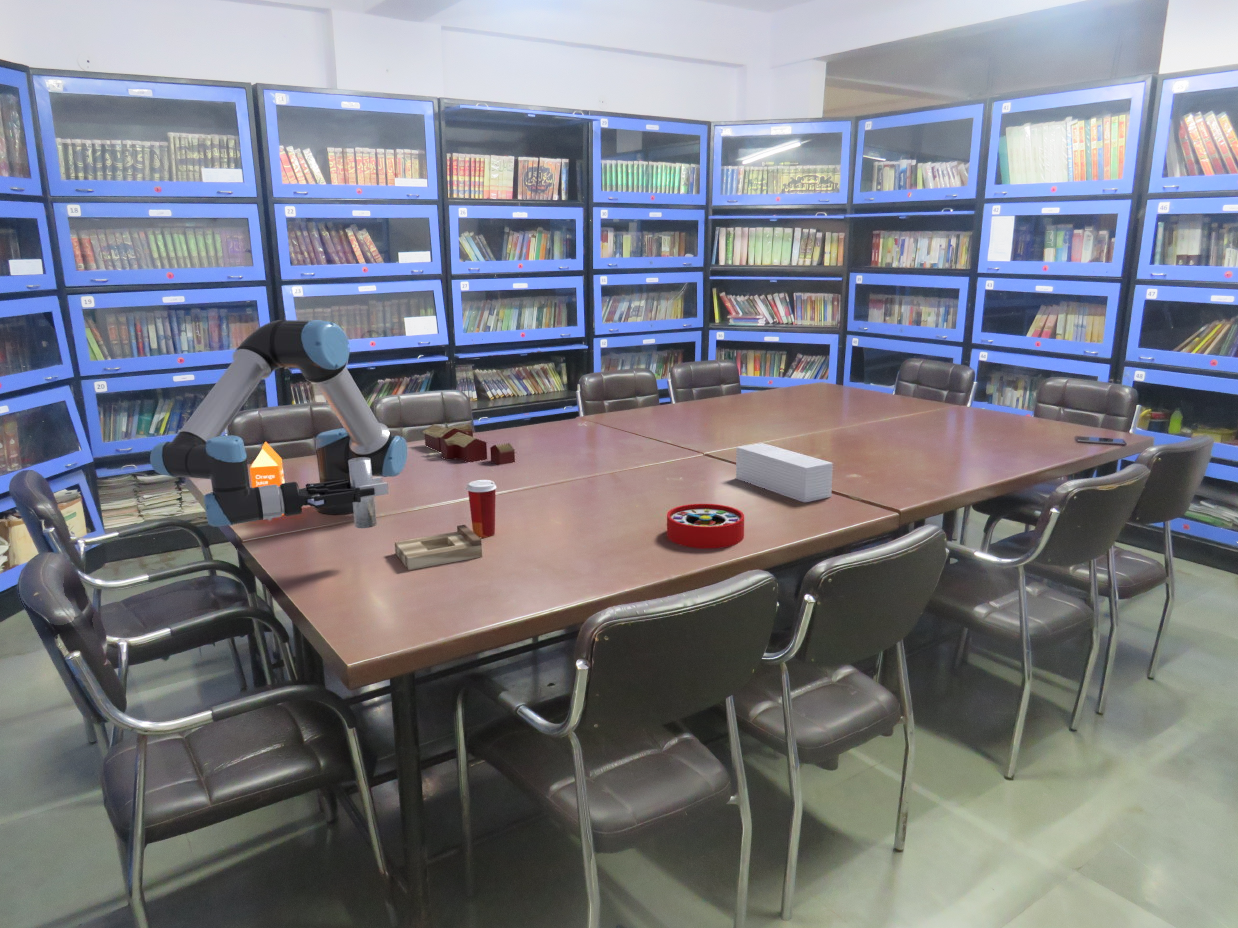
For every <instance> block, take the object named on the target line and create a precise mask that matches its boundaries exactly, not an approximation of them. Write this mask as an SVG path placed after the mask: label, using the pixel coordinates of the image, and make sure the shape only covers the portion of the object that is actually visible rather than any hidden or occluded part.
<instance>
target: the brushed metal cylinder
mask: <svg viewBox="0 0 1238 928" xmlns="http://www.w3.org/2000/svg"><path fill="white" fill-rule="evenodd" d="M348 463H349V473H350V483H351V488H359V486H365V485H372V484H373V479H372V478H373V476H372V469H371V459H370V458H367V457H359V458H353V459H350V460H348ZM353 520H354V527H355V528H357V529H370V528H373V527H376V526H377V524H378V523H377V512H376V502H375V496H372V497H366V498H361V502H359V503H358V502H353Z"/></svg>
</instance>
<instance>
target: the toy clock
mask: <svg viewBox="0 0 1238 928" xmlns="http://www.w3.org/2000/svg"><path fill="white" fill-rule="evenodd" d="M666 538H667V539H668V540H669V541H670V542H672V543H674V544H676V545H680V546H682V547H688V548H694V549H721V548H726V547H727V548H728V547H731V546H735V545H738V544H739V543H741V542H742V541H743V540H744V538H745V514H744V513H743V511H741V510H739V509H737V508H735V507H733V506H728V505H724V504H716V503H691V504H683V505H680V506H675V507H673V508H671V509H670V510H668V511H667V514H666Z"/></svg>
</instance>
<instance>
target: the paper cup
mask: <svg viewBox="0 0 1238 928" xmlns="http://www.w3.org/2000/svg"><path fill="white" fill-rule="evenodd" d="M496 489H497V485H496V483H495V482H494V480H489V479H479V480H473V481H470V482H469V483H468V484H467V486H466V490H467V492H468V501H469V509H470V517H471V523H472V524H471V525H472V532H474V533H475V534H476V535H477V536H478V537H479V538H480V539H482V538H490V537H493V536H494V535H495V533H496V532H495V531H496Z"/></svg>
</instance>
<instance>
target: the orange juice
mask: <svg viewBox="0 0 1238 928" xmlns="http://www.w3.org/2000/svg"><path fill="white" fill-rule="evenodd" d="M249 473H250V480H251V481H250V482H251V488H254V487H260V486H266V485H273V484H276V485H277V486H280V485H281V484H282V483H286V482H285V476H284V475H285V474H284V468H283V459H282V457H281V456H280V455H279V454H278V453H277V452H276V451H275V449H273V447H271V445H269V443H268V442H267V441H265V442H264V443H263V445H262V447H261V450H260V452H259V453H258V455H257V456H256V458H255V460H253V461H252V463H251V464H250V467H249ZM282 516H285V515H284V514H282Z"/></svg>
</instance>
